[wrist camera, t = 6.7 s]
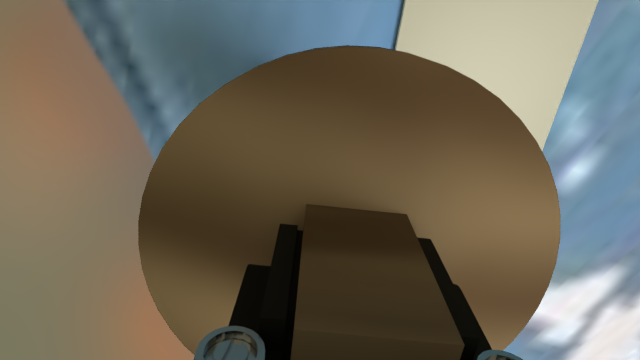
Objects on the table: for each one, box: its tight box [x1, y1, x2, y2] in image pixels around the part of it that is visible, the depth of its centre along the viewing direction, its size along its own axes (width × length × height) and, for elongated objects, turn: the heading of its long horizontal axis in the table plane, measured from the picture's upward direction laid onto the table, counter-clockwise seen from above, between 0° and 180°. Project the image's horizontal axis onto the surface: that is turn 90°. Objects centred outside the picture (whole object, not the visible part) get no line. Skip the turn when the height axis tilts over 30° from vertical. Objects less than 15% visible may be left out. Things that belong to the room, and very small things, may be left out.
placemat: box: [394, 0, 598, 151], centre depth 32 cm, size 20×15×1 cm
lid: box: [139, 45, 560, 360], centre depth 10 cm, size 13×13×6 cm
